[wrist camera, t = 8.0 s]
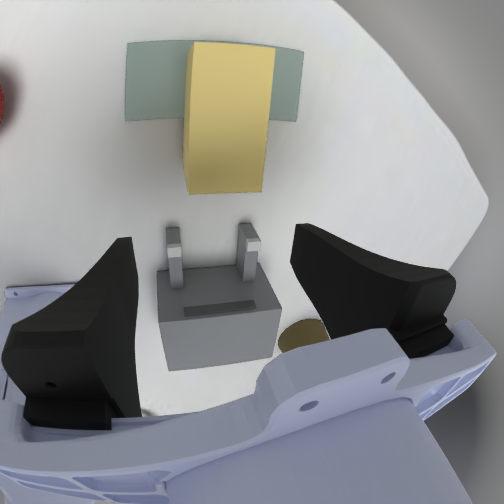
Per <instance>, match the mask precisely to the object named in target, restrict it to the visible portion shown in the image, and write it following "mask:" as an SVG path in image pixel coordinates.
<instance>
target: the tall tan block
mask: <svg viewBox="0 0 504 504" xmlns="http://www.w3.org/2000/svg"><path fill="white" fill-rule="evenodd" d="M275 50H276V48H269V47H261V46H253V45H243V44H230V43H213V42H194V43H193V45H192V47H191V48H190V50H189V52H188V53H187V66H186V82H185V103H184V134H183V168H184V174H185V179H186V184H187V189H188V194H189V195H193V194H215V193H247V192H261V191H262V181H263V171H264V162H265V152H266V142H267V132H268V122H269V111H270V101H271V91H272V81H273V71H274V61H275Z"/></svg>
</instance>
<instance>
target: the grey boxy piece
mask: <svg viewBox="0 0 504 504" xmlns="http://www.w3.org/2000/svg"><path fill="white" fill-rule="evenodd" d="M166 234H167V254H168V263H169V271H157V298H158V323H159V328H160V333H161V338H162V343H163V348H164V352H165V357H166V361H167V366H168V370H169V371H177V370H187V369H196V368H205V367H213V366H220V365H227V364H234V363H241V362H247V361H253V360H259V359H265V358H270V357H272V355H273V350H274V345H275V341H276V336H277V331H278V327H279V322H280V317H281V312H282V307H281V305H280V303H279V301H278V299H277V297H276V295H275V293H274V291H273V289H272V287H271V285H270V283H269V281H268V279H267V277H266V275H265V273H264V271H263V269H262V267H261V265H260V263H257V256H258V251H260V249H261V240H260V238H259V236H258V235H257V233H256V231H255V229H254V228H253V226H252V224H251V223H248V224H239V232H238V247H237V262H236V265H230V266H218V267H206V268H194V269H182V252H181V241H180V232H179V228H167V229H166Z"/></svg>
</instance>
